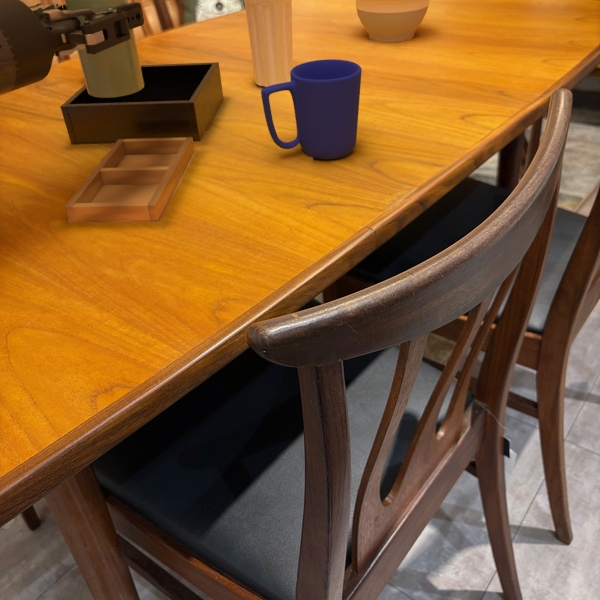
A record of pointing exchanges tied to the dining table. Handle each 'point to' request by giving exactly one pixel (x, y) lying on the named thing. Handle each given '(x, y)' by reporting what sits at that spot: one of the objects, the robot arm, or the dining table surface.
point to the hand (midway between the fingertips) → (115, 11)
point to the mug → (321, 107)
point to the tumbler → (110, 59)
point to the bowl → (391, 18)
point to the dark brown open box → (149, 106)
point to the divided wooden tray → (133, 181)
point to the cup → (270, 40)
